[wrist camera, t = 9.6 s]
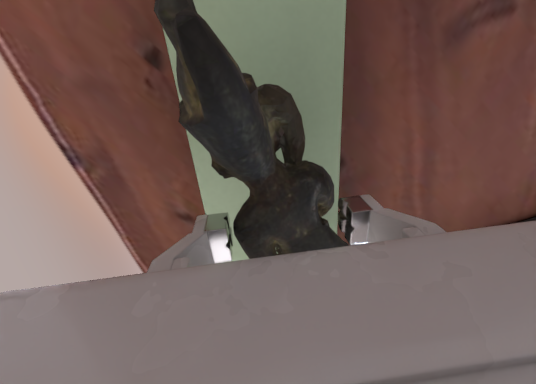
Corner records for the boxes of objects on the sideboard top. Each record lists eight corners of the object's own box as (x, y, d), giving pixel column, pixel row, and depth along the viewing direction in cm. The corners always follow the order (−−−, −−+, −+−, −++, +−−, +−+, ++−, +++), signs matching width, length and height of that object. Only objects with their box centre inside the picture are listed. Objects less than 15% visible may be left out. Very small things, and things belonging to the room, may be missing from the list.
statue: (347, 249, 22) (225, -40, 10) (393, 303, 17) (273, -99, 5) (284, 288, 22) (83, 46, 10) (314, 353, 17) (17, 56, 5)
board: (160, -2, 15) (154, -7, 14) (340, -17, 16) (347, -23, 15) (221, 274, 25) (221, 283, 24) (331, 259, 26) (335, 267, 24)
